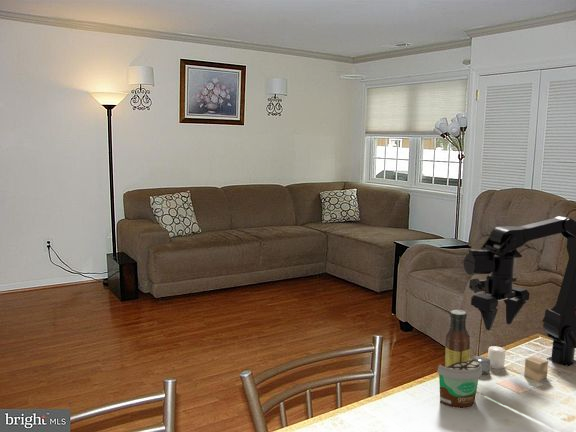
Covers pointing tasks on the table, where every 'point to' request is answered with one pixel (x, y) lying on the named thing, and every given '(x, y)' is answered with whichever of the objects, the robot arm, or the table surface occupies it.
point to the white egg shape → (496, 357)
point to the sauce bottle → (457, 339)
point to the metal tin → (484, 364)
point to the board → (522, 383)
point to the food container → (459, 383)
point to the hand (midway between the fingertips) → (498, 327)
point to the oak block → (536, 368)
